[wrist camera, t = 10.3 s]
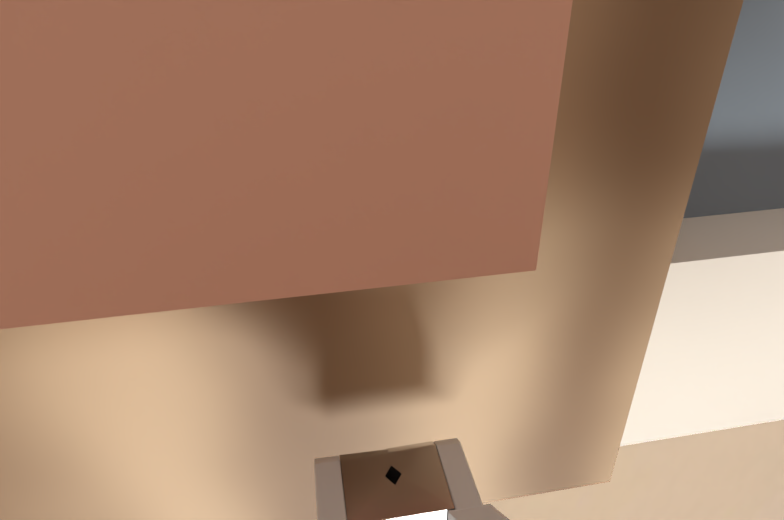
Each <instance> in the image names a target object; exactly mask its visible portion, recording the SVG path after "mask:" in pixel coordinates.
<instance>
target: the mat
mask: <svg viewBox="0 0 784 520" xmlns="http://www.w3.org/2000/svg"><path fill="white" fill-rule="evenodd" d="M780 208H784V0H743V4H742V8H741V11H740V15H739V18H738V22H737V26H736V29H735V33H734V36H733V40H732V44H731V47H730V51H729V54H728V58H727V62H726V65H725V69H724V72H723V76H722V80H721V83H720V87H719V91H718V94H717V98H716V101H715V105H714V109H713V112H712V116H711V119H710V123H709V127H708V130H707V134H706V137H705V141H704V145H703V148H702V152H701V155H700V159H699V163H698V166H697V170H696V173H695V177H694V181H693V184H692V188H691V191H690V195H689V199H688V202H687V206H686V209H685V213H684V217H683V218H692V217H702V216H712V215H722V214H731V213H741V212H751V211H761V210H771V209H780Z"/></svg>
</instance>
